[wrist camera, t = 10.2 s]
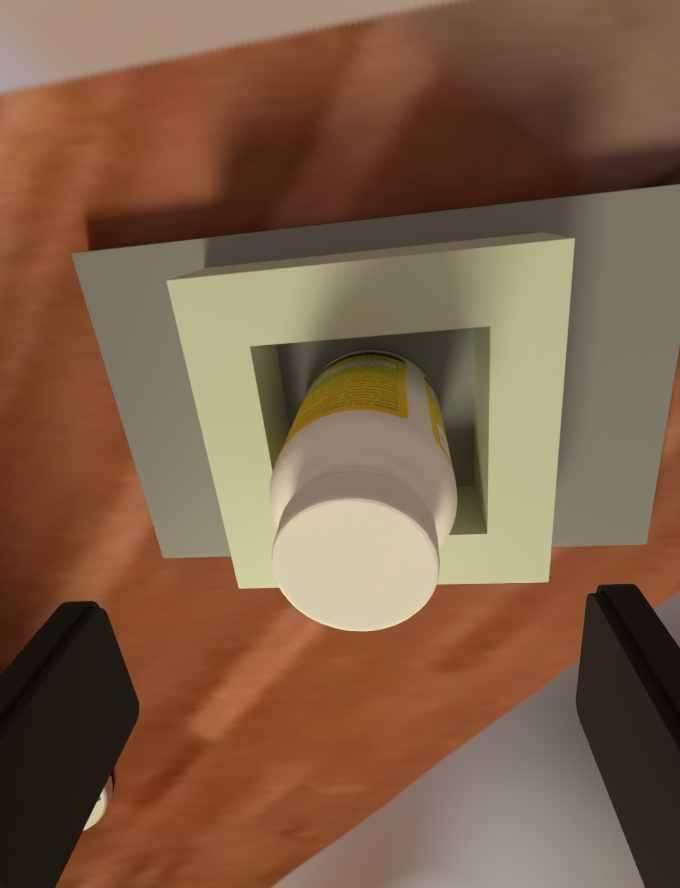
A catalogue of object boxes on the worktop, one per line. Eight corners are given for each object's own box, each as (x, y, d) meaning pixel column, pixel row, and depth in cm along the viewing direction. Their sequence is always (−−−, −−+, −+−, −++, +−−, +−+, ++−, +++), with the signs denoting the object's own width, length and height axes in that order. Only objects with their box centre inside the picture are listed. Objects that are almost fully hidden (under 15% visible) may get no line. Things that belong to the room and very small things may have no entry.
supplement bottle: (278, 418, 21) (196, 570, 12) (363, 317, 19) (337, 413, 10) (378, 495, 22) (367, 684, 13) (468, 407, 20) (525, 563, 11)
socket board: (688, 182, 17) (782, 175, 13) (634, 528, 23) (688, 600, 19) (88, 250, 20) (7, 262, 16) (173, 543, 26) (129, 608, 22)
